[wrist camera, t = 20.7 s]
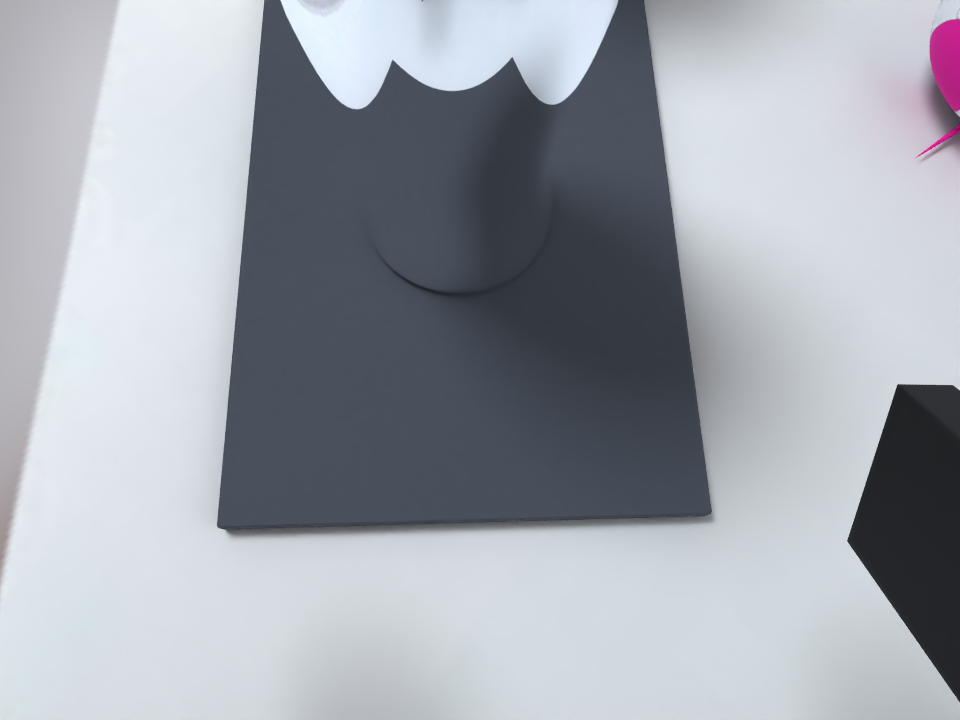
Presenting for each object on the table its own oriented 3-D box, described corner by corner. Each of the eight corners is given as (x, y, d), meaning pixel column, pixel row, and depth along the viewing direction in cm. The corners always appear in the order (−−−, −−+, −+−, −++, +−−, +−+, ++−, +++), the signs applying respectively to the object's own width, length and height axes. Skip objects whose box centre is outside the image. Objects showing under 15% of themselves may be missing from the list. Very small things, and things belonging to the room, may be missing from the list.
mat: (705, 516, 20) (712, 513, 20) (223, 529, 20) (216, 528, 20) (636, -15, 27) (640, -28, 26) (270, -10, 27) (265, -23, 26)
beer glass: (546, 111, 24) (650, -581, 10) (583, 294, 22) (784, -259, 8) (344, 133, 24) (156, -551, 10) (362, 321, 22) (149, -207, 7)
